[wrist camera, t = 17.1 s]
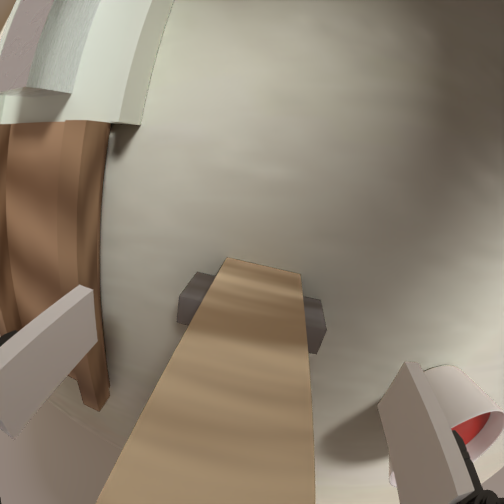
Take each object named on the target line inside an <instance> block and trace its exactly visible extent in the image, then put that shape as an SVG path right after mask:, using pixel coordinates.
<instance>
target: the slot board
mask: <svg viewBox="0 0 504 504" xmlns="http://www.w3.org/2000/svg"><path fill="white" fill-rule="evenodd" d="M110 127H111V123H109V122H100V121H90V120H65V122H33V123H16V124H0V336H3V335H4V334H6V333H9V332H11V331H14V330H16V331H18V332H19V331H20V330H21V329H22V328H23V327H25V326H26V325H27V324H28V323H30V322H31V321H32V320H33V319H35V318H36V317H37V316H39V315H40V314H41V313H42V312H44V311H45V310H46V309H48V308H49V307H50V306H51V305H53V304H54V303H55V302H57V301H58V300H59V299H61V298H62V297H63V296H65V295H66V294H67V293H69V292H70V291H72V290H73V289H74V288H76V287H77V286H78V285H82V286H84V287H87V288H90V289H93V294H94V309H95V321H96V330H97V339H98V342H97V343H96V344H95V345H94V346H93V347H92V348H91V349H90V350H89V352H88V353H87V354H86V355H85V356H84V357H83V358H82V359H81V361H80V362H79V363H78V364H77V365H76V366H75V367H74V369H73V370H72V371H71V372H70V373H69V374H68V375H67V376H69V377H71V378H73V379H75V380H77V382H78V385H79V389H80V393H81V396H82V400H83V403H84V405H86V406H88V407H91V408H93V409H95V410H97V411H99V412H100V410H101V409H102V407H103V406H104V404H105V403H106V401H107V399H108V398H109V396H110V393H109V387H110V383H109V376H108V370H107V363H106V355H105V347H104V338H103V327H102V315H101V299H100V268H99V247H100V217H101V201H102V188H103V178H104V169H105V160H106V153H107V146H108V139H109V133H110Z"/></svg>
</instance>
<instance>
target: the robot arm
mask: <svg viewBox="0 0 504 504" xmlns="http://www.w3.org/2000/svg"><path fill="white" fill-rule="evenodd" d="M97 342H98V339H97V330H96V321H95V309H94V294H93V289H90V288H87V287H84V286H82V285H78V286H77V287H76V288H74V289H73V290H72V291H70V292H69V293H67V294H66V295H65V296H63V297H62V298H61V299H59V300H58V301H57V302H55V303H54V304H53V305H51V306H50V307H49V308H48V309H46V310H45V311H44V312H42V313H41V314H40V315H39V316H37V317H36V318H35V319H33V320H32V321H31V322H30V323H28V324H27V325H26V326H25V327H23V328H22V329H21V330H20V331H19V332H18V331H16V330H14V331H11V332H9V333H6V334H4V335H3V336H1V337H0V429H1V430H2V431H4V432H5V433H6V434H7V435H8V436H10V437H11V438H12V439H14V440H15V439H16V438H17V436H18V435H19V434H20V433H21V431H22V430H23V429H24V427H25V426H26V425H27V424H28V422H29V421H30V420H31V418H32V417H33V416H34V415H35V414H36V412H37V411H38V410H39V409H40V408H41V406H42V405H43V404H44V403H45V401H46V400H47V399H48V398H49V397H50V395H51V394H52V393H53V392H54V391H55V390H56V388H57V387H58V386H59V385H60V384H61V382H62V381H63V380H64V379H65V378H66V377H67V375H68V374H69V373H70V372H71V371H72V370H73V369H74V367H75V366H76V365H77V364H78V363H79V362H80V361H81V359H82V358H83V357H84V356H85V355H86V354H87V353H88V352H89V350H90V349H91V348H92V347H93V346H94V345H95V344H96V343H97ZM377 407H378V411H379V415H380V418H381V422H382V426H383V429H384V433H385V437H386V441H387V445H388V449H389V454H390V458H391V462H392V466H393V471H394V475H395V480H396V485H397V490H398V495H399V500H400V504H504V498H498V497H497V495H496V494H495V493H494V492H493V491H490V490H483V488H482V486H481V483H480V481H479V478H478V475H477V473H476V470H475V467H474V465H473V462H472V460H470V455H469V452H468V451H467V448H466V445H465V443H464V441H463V439H462V438H461V436H460V435H459V434H458V433H457V432H456V431H455V430H451V428H450V426H449V424H448V421H447V419H446V417H445V415H444V413H443V410H442V408H441V406H440V404H439V402H438V400H437V398H436V396H435V394H434V392H433V389H432V387H431V385H430V383H429V381H428V379H427V378H426V376H425V374H424V372H423V370H422V368H421V366H420V364H419V363H417V362H407V361H405V362H404V363H403V365H402V367H401V369H400V370H399V372H398V374H397V375H396V377H395V379H394V380H393V382H392V383H391V385H390V387H389V388H388V390H387V391H386V393H385V394H384V396H383V398H382V399H381V401H380V402H379V404H378V405H377ZM0 504H1V499H0Z"/></svg>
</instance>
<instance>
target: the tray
mask: <svg viewBox="0 0 504 504" xmlns="http://www.w3.org/2000/svg"><path fill="white" fill-rule="evenodd" d="M20 2H21V0H16V3H15V5H14V7H13V9H12V12H11V14H10V17H9V19H8V22H7V24H6V27H5V29H4V32H3V35H2V38H1V41H0V56H1V53H2V49H3V46H4V43H5V40H6V37H7V34H8V31H9V29H10V26H11V23H12V21H13V18H14V16H15V13H16V11H17V9H18V6H19V4H20ZM173 2H174V0H101V2H100V4H99V6H98V9H97V11H96V14H95V17H94V19H93V22H92V25H91V28H90V31H89V33H88V37H87V40H86V43H85V46H84V50H83V53H82V56H81V60H80V64H79V67H78V71H77V75H76V79H75V83H74V87H73V92H72V94H62V95H52V96H43V97H35V98H31V97H20V96H7V95H0V124H16V123H33V122H65V120H90V121H100V122H109V123H115V124H131V125H141V120H142V115H143V110H144V105H145V100H146V96H147V91H148V87H149V83H150V78H151V74H152V70H153V67H154V63H155V59H156V55H157V52H158V48H159V45H160V42H161V38H162V35H163V32H164V29H165V26H166V22H167V19H168V17H169V14H170V11H171V8H172V5H173Z"/></svg>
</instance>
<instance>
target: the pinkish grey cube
mask: <svg viewBox="0 0 504 504" xmlns="http://www.w3.org/2000/svg"><path fill="white" fill-rule="evenodd" d="M87 37H88V35H87V34H85V33H83V32H81V31H79V30H77V29H74V28H72V27H70V26H68V25H65V24H63V23H61V22H58V21H56V20H53V19H51V18H49V17H46V18H43V19H41V20H38V21H35V22H33V23H30V24H28V25H25V26H23V27H21V28H18V29H16V30H14V31H12V32H10V33H8V34H7V37H6V40H5V43H4V46H3V49H2V53H1V56H0V95H7V96H20V97H31V98H35V97H43V96H52V95H62V94H72V92H73V87H74V83H75V79H76V75H77V71H78V67H79V64H80V60H81V56H82V53H83V50H84V46H85V43H86V40H87Z"/></svg>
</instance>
